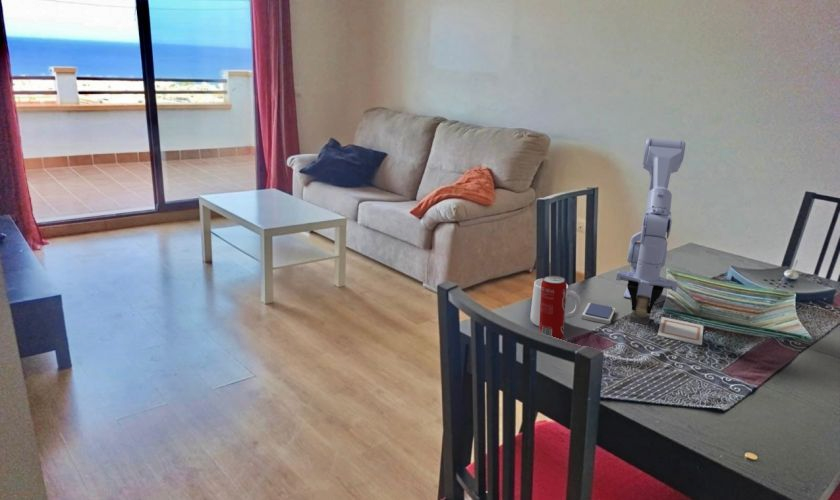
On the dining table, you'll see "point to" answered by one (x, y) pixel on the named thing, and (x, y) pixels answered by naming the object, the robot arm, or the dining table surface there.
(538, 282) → the mug
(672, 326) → the sheet
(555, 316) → the beverage can
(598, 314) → the ink pad
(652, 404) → the dining table surface
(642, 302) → the stamp
